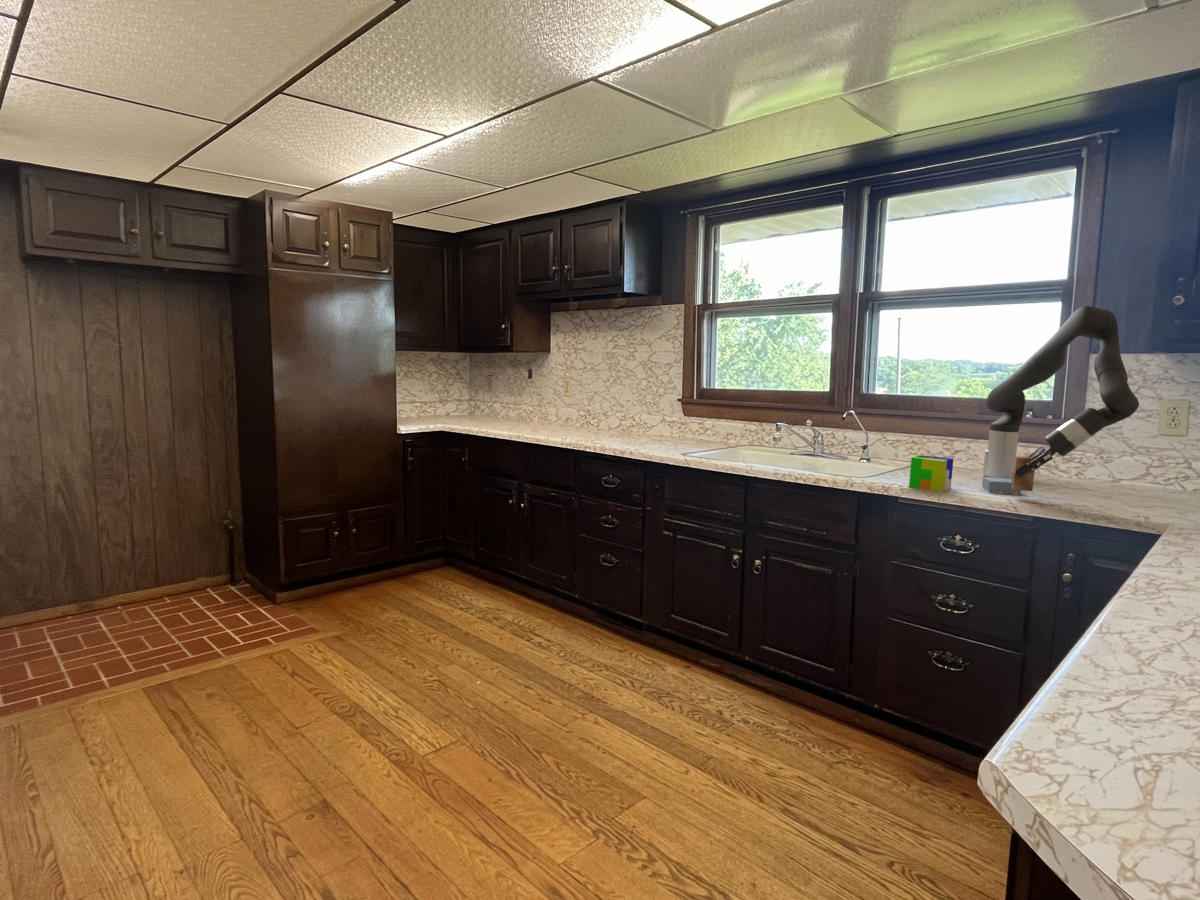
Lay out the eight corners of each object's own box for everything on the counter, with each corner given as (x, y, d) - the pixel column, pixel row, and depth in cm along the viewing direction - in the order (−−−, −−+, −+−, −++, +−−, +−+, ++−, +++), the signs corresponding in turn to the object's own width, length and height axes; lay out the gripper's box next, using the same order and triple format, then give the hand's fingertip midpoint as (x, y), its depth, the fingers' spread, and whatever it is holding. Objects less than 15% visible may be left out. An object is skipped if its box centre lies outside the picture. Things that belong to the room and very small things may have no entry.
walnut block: (1013, 489, 206) (1016, 457, 204) (1011, 486, 210) (1014, 455, 209) (1032, 491, 204) (1036, 458, 202) (1029, 488, 208) (1033, 456, 207)
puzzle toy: (950, 488, 224) (953, 458, 222) (941, 491, 216) (944, 461, 215) (919, 484, 230) (921, 455, 229) (908, 487, 223) (911, 457, 222)
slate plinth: (988, 493, 217) (989, 481, 217) (981, 488, 226) (983, 477, 226) (1020, 495, 215) (1021, 483, 214) (1012, 490, 223) (1013, 479, 223)
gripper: (1053, 426, 208) (1004, 461, 214) (1062, 430, 195) (1009, 467, 201) (1071, 444, 206) (1021, 479, 213) (1082, 449, 193) (1028, 486, 200)
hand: (1016, 473), depth 207 cm, fingers closed on walnut block, 5 cm apart
